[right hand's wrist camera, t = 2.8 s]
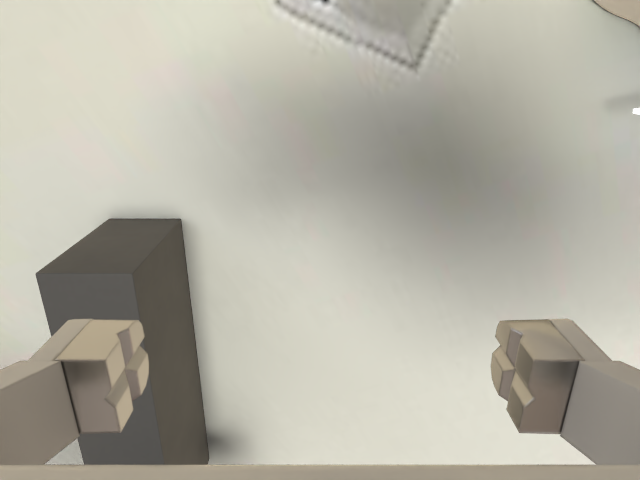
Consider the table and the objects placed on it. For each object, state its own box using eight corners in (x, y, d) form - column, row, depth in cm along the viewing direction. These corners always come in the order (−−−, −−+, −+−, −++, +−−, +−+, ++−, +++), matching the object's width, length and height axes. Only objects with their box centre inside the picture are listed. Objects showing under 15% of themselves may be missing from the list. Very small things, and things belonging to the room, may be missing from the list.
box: (108, 218, 39) (34, 273, 29) (181, 218, 39) (132, 273, 29) (152, 458, 49) (108, 561, 39) (209, 458, 49) (180, 561, 39)
